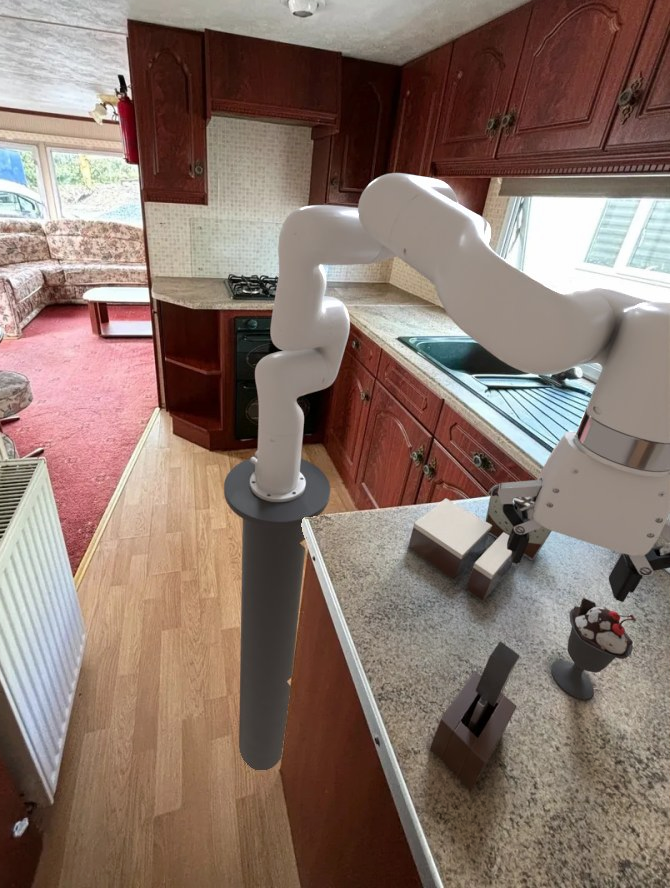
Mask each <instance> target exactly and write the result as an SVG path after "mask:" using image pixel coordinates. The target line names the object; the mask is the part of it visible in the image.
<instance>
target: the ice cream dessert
mask: <svg viewBox="0 0 670 888" xmlns="http://www.w3.org/2000/svg"><path fill="white" fill-rule="evenodd" d="M486 494H487V495H490V496H489V502H488V506H487V512H486V515H485V521H486V522H487V523H489V524H491V525H492V528H491V530H490V533H489V535H491V536H492V537H494V538H495V539H496V540H497V539H498V537H499V536H500V535H501V534H502V533H503V532H504V533H506V534H508V535H510V533H511V530H512V528H513V525H512V524H511V523H510V521H509V520H508V518H507V517H506V516H505V514H504V513H503V508H502V505H501V502H500V499H499V496H498V484H495V485H493V486H492V487H491V488H490V489H489V490H488V492H487V493H486ZM513 500H514V502H515V503H516V504H517V506H518V507H519V509H521V508H524V507H526V506H529V505H531V504H534V502H531V497H518V498H514V499H513ZM552 532H553V531H552V530H549V529H546V528H544V527H543V528H540V529H537V530H534V531H532V532H529V542H528V545H527V547H526V550H525V552H524V554H523V556H524V557H526V558H527V559H529V560H531V561H534V560H535V558H536V557H537V555H538V554H539V552H540V550H541V549H542V548H543V546H544V544H545V543H546V541H547V539H548V538H549V536H550V534H551V533H552Z"/></svg>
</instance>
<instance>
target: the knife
mask: <svg viewBox="0 0 670 888" xmlns="http://www.w3.org/2000/svg"><path fill="white" fill-rule="evenodd" d="M519 659H520V654H519V653H517V652H516V651H515V650H513V649H512V648H510V647H509V646H508V645H506V644H505V642H503V641H501V640H500V641H499V642H498V643H497V645H496V646H495V647H494V649H493V650H492V652H491V653H490V654H489V657H488V659H487V661H486V664H485V666H484V668H483V672H482V673H481V678H480V681H479V683H478V685H477V688H476V690H475V691H476V692H477V693H478V694H480V695H481V698H480V700H479V701H478V703H477V705H476V708H475V710H474V712H473V715H472V717H471V719H469V722H468V724H467V726H466V727H467V728H468V729H469V730H470V731H471V732H472V733H473V734H474V735H475V736H476V734H477V732H478V730H479V729H480V728H479V726H480V723H481V721H482V719H483V717H484V715H485V712H486V710H487V708H488V706H489V704H491V705H492V706H493V707H494V706H495V704H496V702H497V701H498V699H499V697H500V696H501V694H503V692H504V691H505V689H506V686H507V684H508V682H509V680H510V677H511V676H512V674H513V671H514V668H515V667H516V665H517V663H518V661H519Z"/></svg>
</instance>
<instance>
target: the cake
mask: <svg viewBox="0 0 670 888" xmlns="http://www.w3.org/2000/svg"><path fill="white" fill-rule="evenodd" d="M491 528H492V525H491V524H489V523H487V522H486V520H484V519H482V518H481V517H479V516H477V515H475V514H474V513H472V512H471V511H469V510H467V509H465V508H464V507H462V506H460V505H458V504H457V503H455V502H453V501H451V500H450V499H448V498H444V499H443V500H441V501H440V502H439V503H438V504H437V505H435V506H434V507H433V508H431V509H430V510H429V511H428V512H426V513H425V514H424V515H422V516H421V517H420V518H418V519H417V520H416V521H414V523H413V527H412V530H411V534H410V538H409V543H408V546H407V549H409V550H410V551H412V552H413V553H415V554H416V555H417V556H419V557H420V558H422V559H423V560H424V561H426V562H427V563H428V564H430V565H431V566H433V568H436V570H438V571H439V572H440V573H443V575H444V576H446V577H448V578H449V579H451V580H452V581H453V582H455V581H456V580H457V579H458V578H459V577H460V576H461V575H462V574H463V573H464V572H465V571H466V569H467V568H468V567H469V566H470V565H471V564H472V563H473V562H474V561H475V560H476V559H477V558H478V556H480V555H481V553H483V551H484V550H485V547H486V545H487V543H488V540H489V539H488V538H489V536H490V534H489V533H490V530H491Z"/></svg>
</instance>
